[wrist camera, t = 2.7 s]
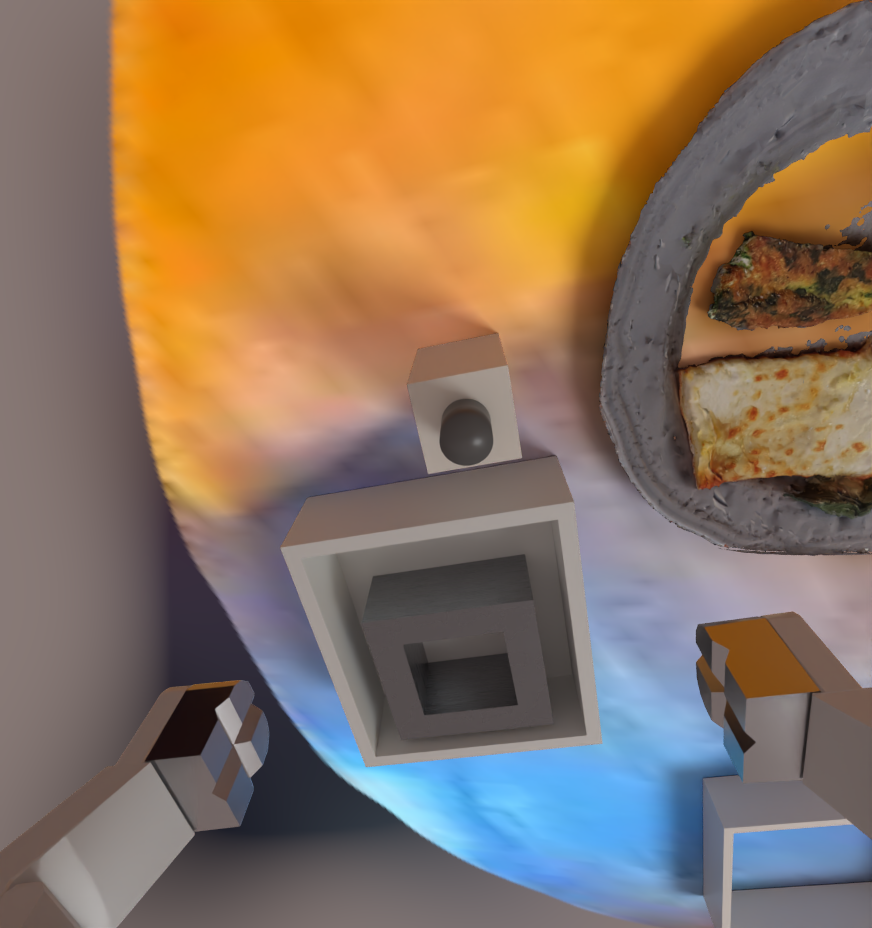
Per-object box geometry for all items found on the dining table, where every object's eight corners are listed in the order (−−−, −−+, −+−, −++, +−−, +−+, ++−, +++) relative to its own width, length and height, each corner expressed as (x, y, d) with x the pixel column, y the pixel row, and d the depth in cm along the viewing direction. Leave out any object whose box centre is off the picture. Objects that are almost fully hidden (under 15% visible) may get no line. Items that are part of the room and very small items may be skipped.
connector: (418, 349, 27) (401, 400, 19) (498, 332, 26) (512, 379, 19) (434, 423, 28) (425, 496, 21) (510, 409, 28) (527, 480, 21)
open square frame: (702, 778, 39) (724, 828, 36) (933, 757, 37) (977, 808, 34) (703, 896, 45) (721, 948, 42) (900, 884, 43) (935, 937, 40)
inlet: (372, 576, 32) (361, 623, 28) (524, 554, 31) (533, 599, 27) (407, 686, 36) (401, 740, 32) (544, 669, 34) (554, 724, 31)
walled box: (307, 497, 30) (280, 547, 26) (556, 455, 29) (573, 501, 24) (377, 699, 37) (366, 767, 33) (584, 675, 35) (602, 743, 31)
